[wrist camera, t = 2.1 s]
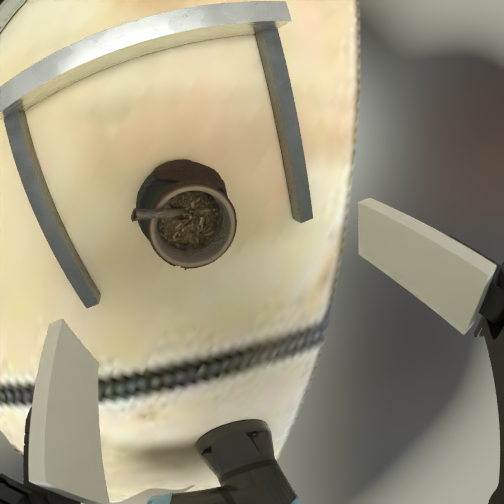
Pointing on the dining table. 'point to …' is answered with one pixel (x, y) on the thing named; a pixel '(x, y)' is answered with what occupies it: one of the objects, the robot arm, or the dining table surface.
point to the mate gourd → (186, 213)
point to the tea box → (8, 10)
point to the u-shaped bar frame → (132, 46)
